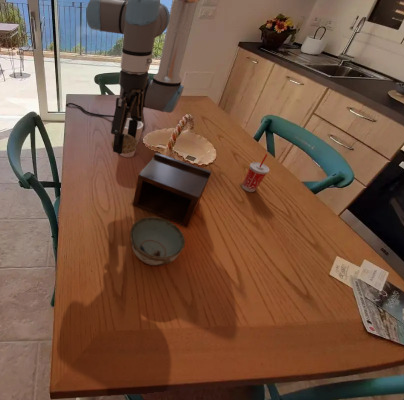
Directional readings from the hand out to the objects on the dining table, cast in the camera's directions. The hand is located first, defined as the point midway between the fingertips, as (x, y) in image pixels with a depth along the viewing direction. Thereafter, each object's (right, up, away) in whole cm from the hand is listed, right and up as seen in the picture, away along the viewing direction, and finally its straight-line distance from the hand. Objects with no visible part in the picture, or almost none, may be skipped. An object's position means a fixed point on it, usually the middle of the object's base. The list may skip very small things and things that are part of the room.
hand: (124, 145), depth 85 cm
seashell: (0, 0, 0) cm, 0 cm away
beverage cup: (+46, -13, +12) cm, 49 cm away
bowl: (+6, -32, -13) cm, 35 cm away
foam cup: (+4, +2, +26) cm, 26 cm away
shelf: (+14, -19, +2) cm, 23 cm away
